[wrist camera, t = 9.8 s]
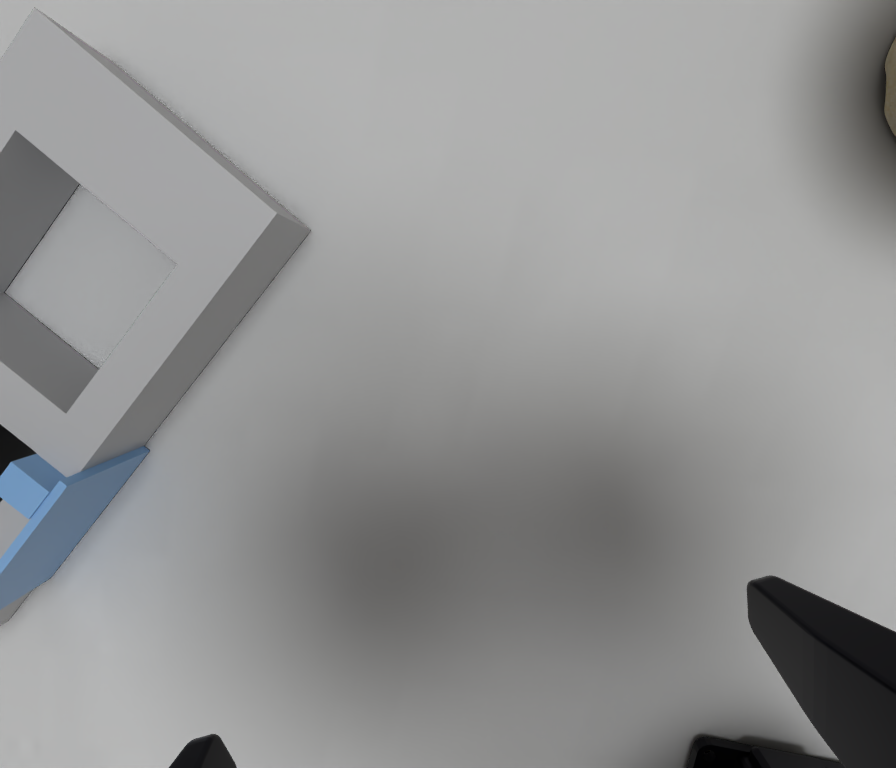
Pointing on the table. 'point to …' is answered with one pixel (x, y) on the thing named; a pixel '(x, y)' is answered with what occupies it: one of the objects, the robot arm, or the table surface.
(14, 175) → the cinder block
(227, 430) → the table surface
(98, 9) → the table surface
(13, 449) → the plug
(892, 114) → the flower pot
